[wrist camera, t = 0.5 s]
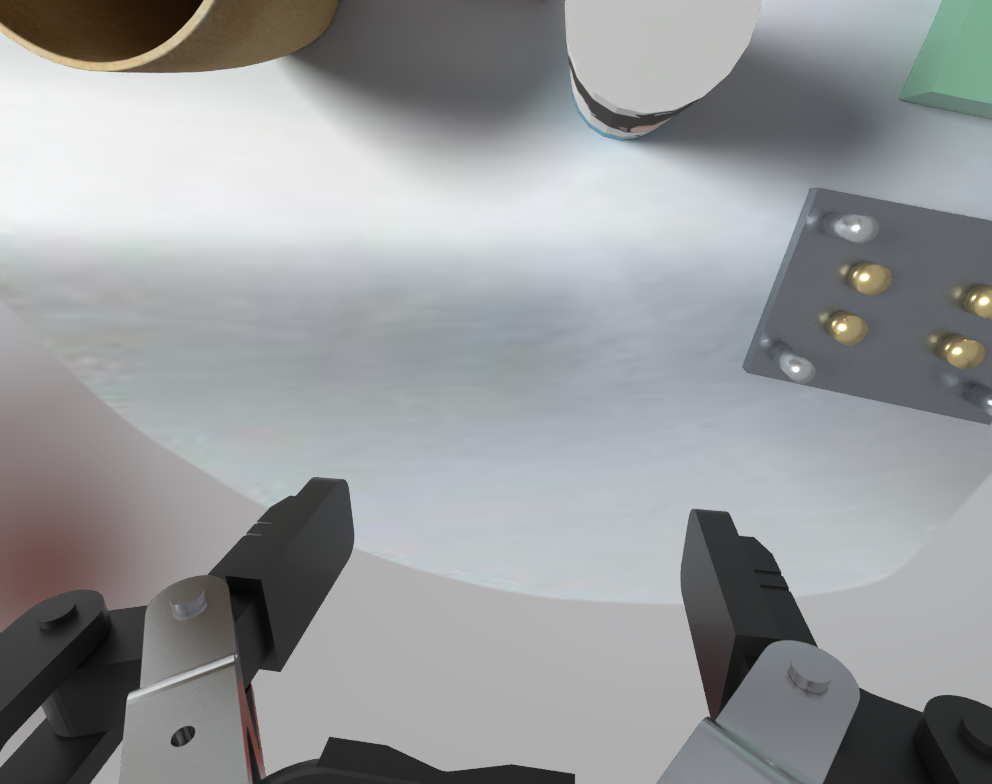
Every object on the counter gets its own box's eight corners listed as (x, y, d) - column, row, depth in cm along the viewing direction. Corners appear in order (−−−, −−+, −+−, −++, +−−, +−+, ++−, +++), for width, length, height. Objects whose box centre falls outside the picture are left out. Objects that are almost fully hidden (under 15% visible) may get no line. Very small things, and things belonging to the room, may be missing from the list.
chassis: (742, 367, 38) (765, 394, 33) (810, 187, 33) (848, 189, 29) (977, 417, 37) (1036, 453, 32) (1081, 239, 32) (1168, 249, 28)
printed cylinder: (628, 163, 34) (659, 153, 21) (549, 89, 34) (526, 27, 20) (710, 67, 32) (807, -17, 18) (626, -15, 31) (662, -170, 17)
